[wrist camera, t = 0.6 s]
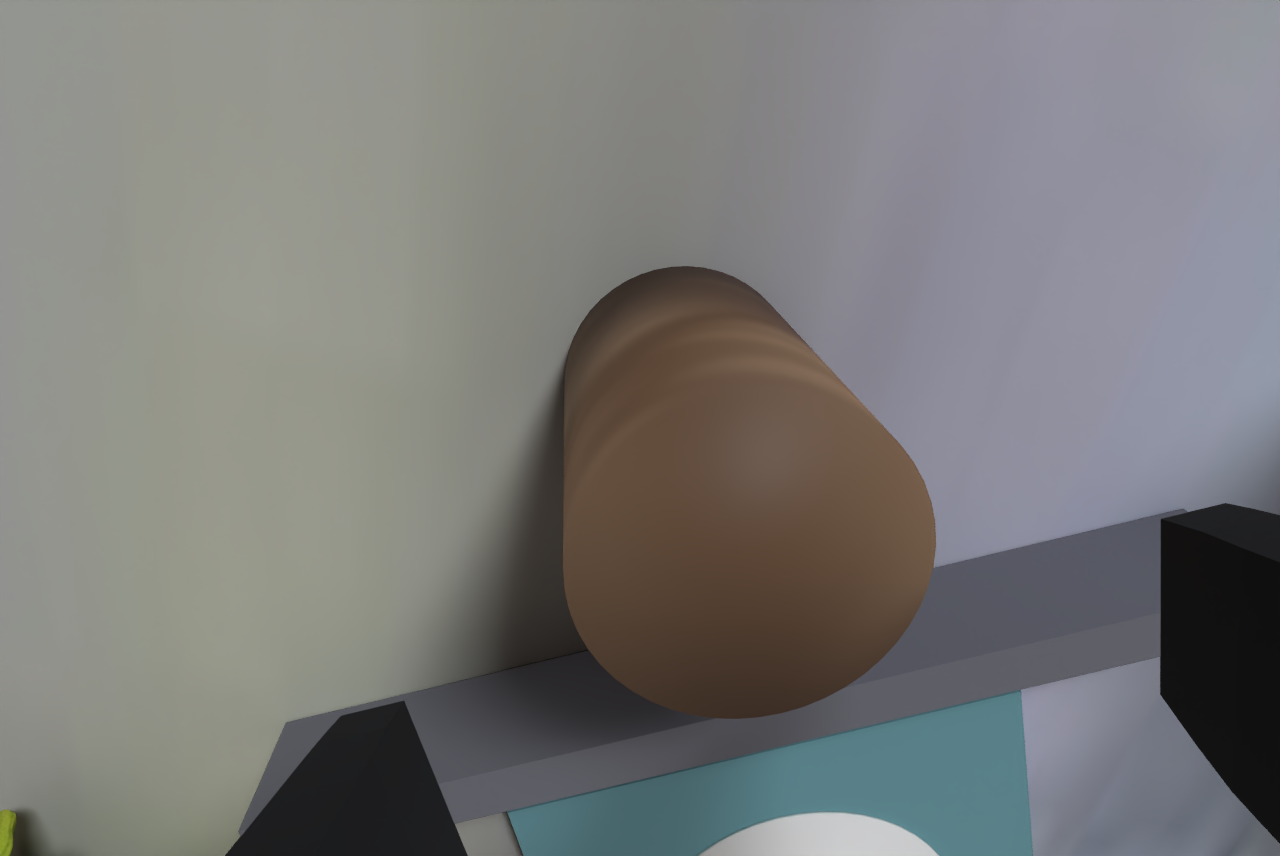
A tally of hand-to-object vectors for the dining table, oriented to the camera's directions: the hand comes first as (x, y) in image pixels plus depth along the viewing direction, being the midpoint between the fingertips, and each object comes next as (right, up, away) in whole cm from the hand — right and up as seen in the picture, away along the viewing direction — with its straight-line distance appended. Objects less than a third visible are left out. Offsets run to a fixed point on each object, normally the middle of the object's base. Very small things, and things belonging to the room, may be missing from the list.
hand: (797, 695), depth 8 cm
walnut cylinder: (-1, +3, +9) cm, 9 cm away
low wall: (+1, -2, +11) cm, 11 cm away
